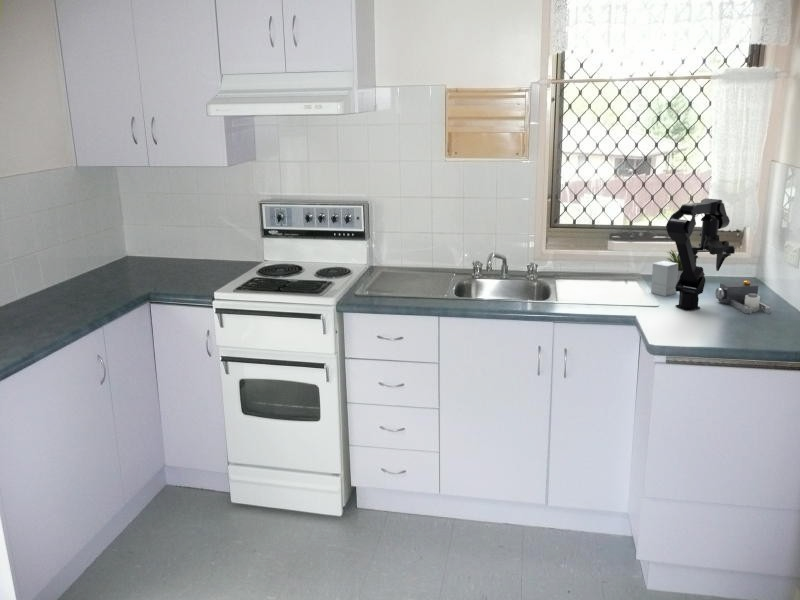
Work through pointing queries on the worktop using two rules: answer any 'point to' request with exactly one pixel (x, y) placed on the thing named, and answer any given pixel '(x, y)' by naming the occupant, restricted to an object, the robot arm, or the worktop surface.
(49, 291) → the worktop surface
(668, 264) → the supplement box
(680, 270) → the house plant
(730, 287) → the motor clip
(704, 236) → the robot arm
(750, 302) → the bottle
